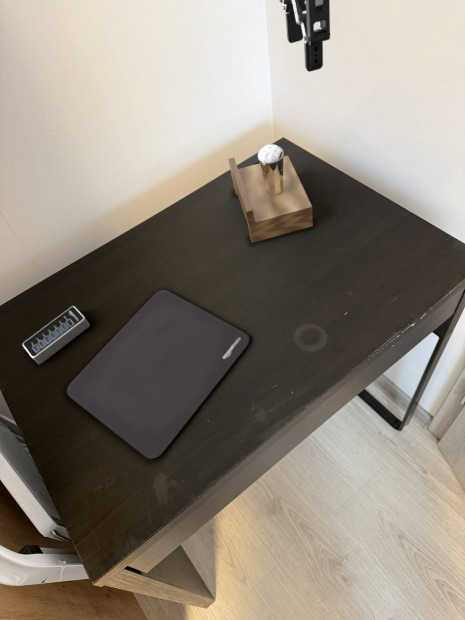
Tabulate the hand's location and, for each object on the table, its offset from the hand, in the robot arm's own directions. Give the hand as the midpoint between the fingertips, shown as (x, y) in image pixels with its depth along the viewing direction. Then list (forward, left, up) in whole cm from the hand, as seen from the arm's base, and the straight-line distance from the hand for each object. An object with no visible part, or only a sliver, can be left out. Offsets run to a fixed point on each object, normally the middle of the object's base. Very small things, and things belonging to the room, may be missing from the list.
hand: (304, 54), depth 65 cm
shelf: (+6, -7, -32) cm, 33 cm away
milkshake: (+5, -6, -27) cm, 28 cm away
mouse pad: (+33, +22, -32) cm, 51 cm away
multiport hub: (+50, +11, -32) cm, 61 cm away
